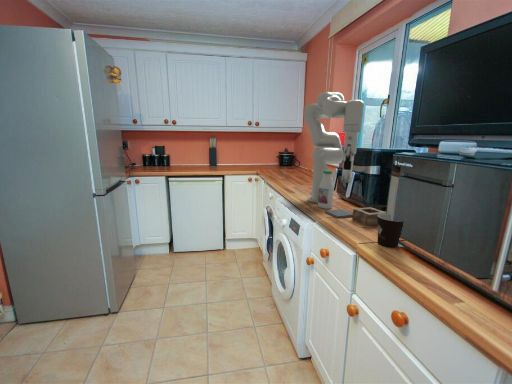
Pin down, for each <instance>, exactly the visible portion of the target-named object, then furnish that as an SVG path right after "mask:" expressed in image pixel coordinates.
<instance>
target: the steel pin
mask: <svg viewBox="0 0 512 384" xmlns="http://www.w3.org/2000/svg"><path fill="white" fill-rule="evenodd" d="M354 160H355V154H354V155H353V154H352V157H351V161H352V163H351V170H344V169H343V168H344V161H345V154H344V159H343V161H342V162H343V164H342V171H341V182H342V183H344V184H345V183H346V184H348V183H349V184H351V183H352V180H353V179H352V177H353V169H354Z"/></svg>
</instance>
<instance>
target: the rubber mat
mask: <svg viewBox="0 0 512 384" xmlns="http://www.w3.org/2000/svg"><path fill="white" fill-rule="evenodd" d="M324 212H325V213H326V214H328V215H330V216H331V217H334V218H336V219H344V218H351V217H352V218H353V212H350V211H347V210H344V209H343V208H341V209H340V208H339V209H329V210H327V209H326V210H324Z"/></svg>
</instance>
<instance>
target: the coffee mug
mask: <svg viewBox="0 0 512 384" xmlns="http://www.w3.org/2000/svg"><path fill="white" fill-rule="evenodd" d="M391 214H392V213H388V214H379V215H378V225H377V244H378V245H379V246H381V247H383V248H386V249H387V248H388V249H396V248H398V246H399V244H400V240H399V238H400V239H401V237H400V235H401V236H402V233H401V231H402V232H403V230H402V227H403V228H404V226H403V222H404V221H392V220H391ZM398 241H399V242H398Z"/></svg>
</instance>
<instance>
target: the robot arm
mask: <svg viewBox="0 0 512 384" xmlns="http://www.w3.org/2000/svg"><path fill="white" fill-rule="evenodd" d="M344 97H345V96H344V95H343V94H342V93H340V92H336V91H335V92H334V91H324V92H321V93H319V95H318V96H317V98H316V103H309V104H307V105H306V106H305V109H304V120H305V123H306V125H307V128H308V130H309V134H310V138H311V143H312V145H313V147H314V149H313V151H312V165H313V167H312V169H313V170H312V186H311V192H310V193H309V195H310V197H309V198H308V201H309V202H312V203H314V202H315V203H316V204H318V195H319V185H320V182H321V180H322V178H323V171H324V170H330V168H329V166H328V165H338V164H341V163H342V162H343V161H344V154H345V161H344V168H343V167H342V170H343V169H344V170H351V163H352V161H351V157H352V154H353V155H354V156H355V155H356V154H357V147H358V139H359V138H358V137H359V135H358V134H359V133H361V130H362V129H361V128H362V121H363V111H364V101H363V100H361V99H352V100H347V101H345V98H344ZM320 119H329V120H330V119H343V125H342V126H343V127H342V128H343V129H342V132H343V133H345V135H344V141H343V142H344V144H343V146H342V142H341V139H340V136H339V134H338V133H336V132H335V131H329V132H328V131H326V129H325V127H324V124H323V123H322V121H320Z"/></svg>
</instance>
